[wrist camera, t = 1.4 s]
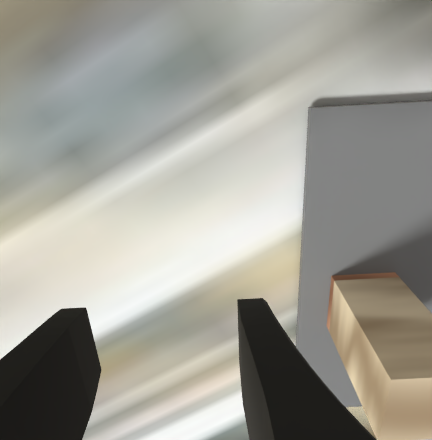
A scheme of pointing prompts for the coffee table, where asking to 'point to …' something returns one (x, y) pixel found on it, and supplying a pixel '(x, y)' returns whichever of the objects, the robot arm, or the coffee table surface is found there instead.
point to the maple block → (385, 351)
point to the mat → (362, 215)
